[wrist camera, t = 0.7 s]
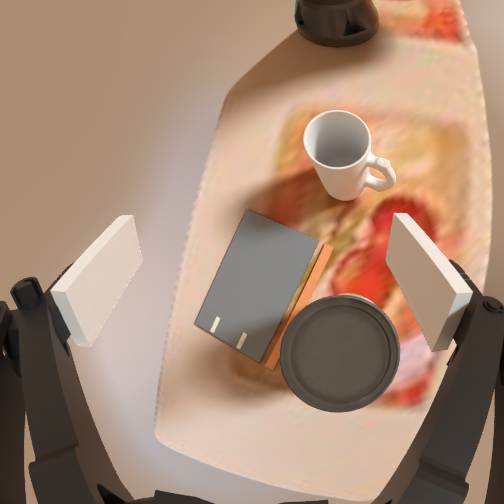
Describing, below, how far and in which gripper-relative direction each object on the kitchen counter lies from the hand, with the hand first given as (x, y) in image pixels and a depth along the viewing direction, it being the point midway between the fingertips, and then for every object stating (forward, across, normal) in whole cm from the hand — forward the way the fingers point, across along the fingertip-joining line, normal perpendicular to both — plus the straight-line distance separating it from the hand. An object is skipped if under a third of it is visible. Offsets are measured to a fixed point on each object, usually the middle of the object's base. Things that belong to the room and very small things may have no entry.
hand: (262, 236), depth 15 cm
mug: (+25, +12, -5) cm, 28 cm away
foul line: (+17, +4, -19) cm, 26 cm away
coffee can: (+14, +10, -21) cm, 27 cm away
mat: (+21, -2, -18) cm, 27 cm away
